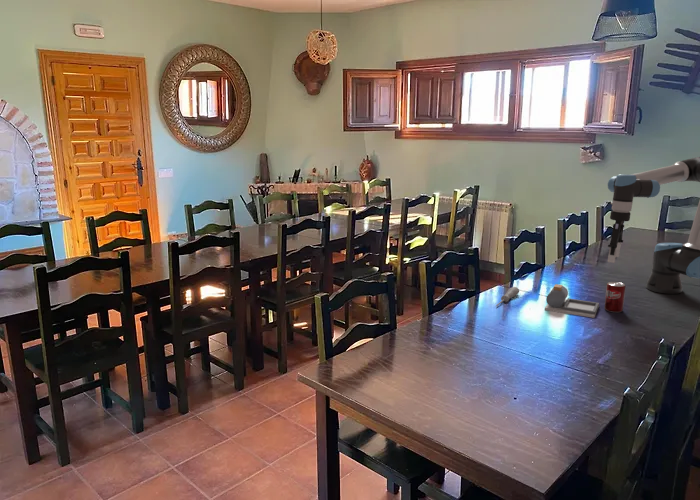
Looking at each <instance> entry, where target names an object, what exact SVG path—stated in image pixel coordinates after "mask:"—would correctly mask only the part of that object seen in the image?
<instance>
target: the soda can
mask: <svg viewBox="0 0 700 500" xmlns="http://www.w3.org/2000/svg"><path fill="white" fill-rule="evenodd" d="M625 294H626V285H625V283H624V282H623V283H622V282H619V281H609V282H607V283H606V291H605V297H604V299H605V300H604V310H605V311H606V312H609V313H613V314H614V313H615V314H617V313H621V312H623V310H624V306H625V305H624V303H625V297H626V296H625Z"/></svg>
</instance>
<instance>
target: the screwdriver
mask: <svg viewBox="0 0 700 500" xmlns="http://www.w3.org/2000/svg"><path fill="white" fill-rule="evenodd" d="M519 292H520V289H519V287H517V286H512V287H510V288H508V289H507V291H506V293H505V294H504V295H502V296H501V297H500V299H501V300H500V301H499V302H498V303H497V304H496V305H495V307H498V306H499V305H501V304H502V303H504V302H506V303H508V302H509V301H510V299H512V298H515V297H517V295H518V294H519Z"/></svg>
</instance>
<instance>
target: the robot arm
mask: <svg viewBox="0 0 700 500" xmlns="http://www.w3.org/2000/svg"><path fill="white" fill-rule="evenodd" d="M674 182H677V183H682V182H683V183H684V182H697V183H700V156H697V157H692V158H691V157H690V158H688V159H683V160H679V161H676V162H674V163H673V164H672V165H667V166H663V167H659V168H655V169H650V170H646V171H645V170H644V171H642V172H636V173H632V174H626V173H621V174H620V173H619V174H617V175H614V176H612V177H610V178H609V180H608V181H607V189H608V190H609V191H610V192H611V193H613V197H612V201H611V202H610V204H611V210H610V215H609V216H610V217H609V219H610V220H611V221H615V223H613V224H612V231H611V237H610V242H609V244H608V245H607V247H608V249H609V251H608V256H607V263H612V264H615V263H616V258H619V257H620V252H621V247H622V244H623V243H624V240H623V233H624V228H625V222H629V221H630V219H631V211H632V207H633V202H634V198H647V199H648V198H655V197H656V196H658V195H659V193H660V191H661V185H662V186H663V185H665V184H670V183H674ZM651 267H652V268H651V273H650V275H649V277H648V279H647V281H646V283H645V288H646V289H647V290H649V291H651V292H655V293H660V294H667V295H677V294H681V293H682V292H683V284H682V279H681V276H680V275H683V276H687V277H689V278H693V279H697V280H698V279H700V199H699V202H698V204H697V207H696V212H695V215H694V218H693V221H692V226H691V228H690V233H689V235H688V239H687V242H685V243H682V242H660V243H657V244H656V245H655V246H654V251H653V259H652V266H651Z"/></svg>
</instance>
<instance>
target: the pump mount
mask: <svg viewBox="0 0 700 500" xmlns="http://www.w3.org/2000/svg"><path fill="white" fill-rule="evenodd" d="M568 296H569V291H568V288H567V287H565V286H564V285H563V284H558V283H557V284H554V285H553V287H552V289H551V290H550V291H549V292H548V294H547V295H546V297H545V298H546V303H547V304H546V305H545V306H544V311H548V312H549V311H550V312H555V313H562V314H567V315H573V316H574V315H575V316H581V317H585V318H586V317H588V318H593V319H595V317H596V315H597V312H598V311H599V310H598V309H599V307H600V303H599V302H596V301H589V300H583V299H576V298H569V297H568ZM567 297H568V298H567Z"/></svg>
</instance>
